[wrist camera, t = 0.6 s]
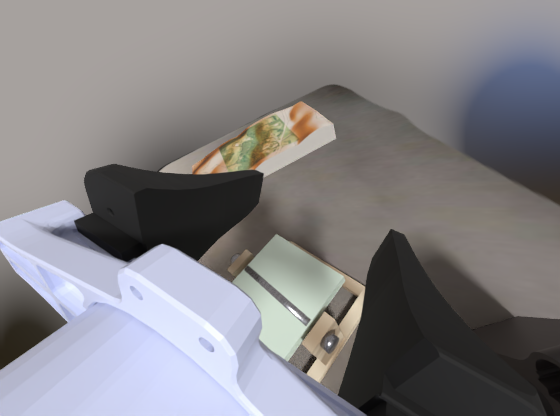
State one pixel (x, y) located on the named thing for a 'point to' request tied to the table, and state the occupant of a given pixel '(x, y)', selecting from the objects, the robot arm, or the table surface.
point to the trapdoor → (288, 293)
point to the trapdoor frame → (320, 320)
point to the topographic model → (271, 142)
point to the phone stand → (530, 353)
